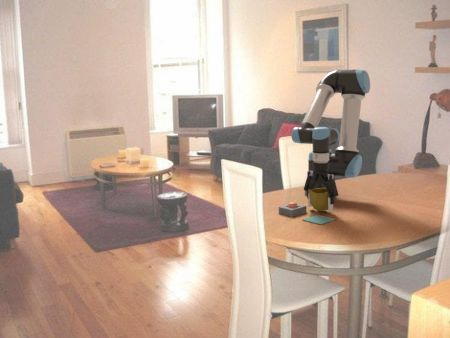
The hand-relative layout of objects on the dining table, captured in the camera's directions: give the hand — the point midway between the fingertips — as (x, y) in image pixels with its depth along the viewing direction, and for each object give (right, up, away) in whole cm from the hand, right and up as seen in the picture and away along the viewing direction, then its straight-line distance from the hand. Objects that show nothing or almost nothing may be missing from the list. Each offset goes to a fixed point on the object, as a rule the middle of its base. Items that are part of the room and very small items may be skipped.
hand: (320, 208), depth 245 cm
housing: (-13, -2, -1) cm, 13 cm away
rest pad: (-3, -4, -13) cm, 14 cm away
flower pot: (0, -1, 0) cm, 1 cm away
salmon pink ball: (-13, -1, -1) cm, 13 cm away
